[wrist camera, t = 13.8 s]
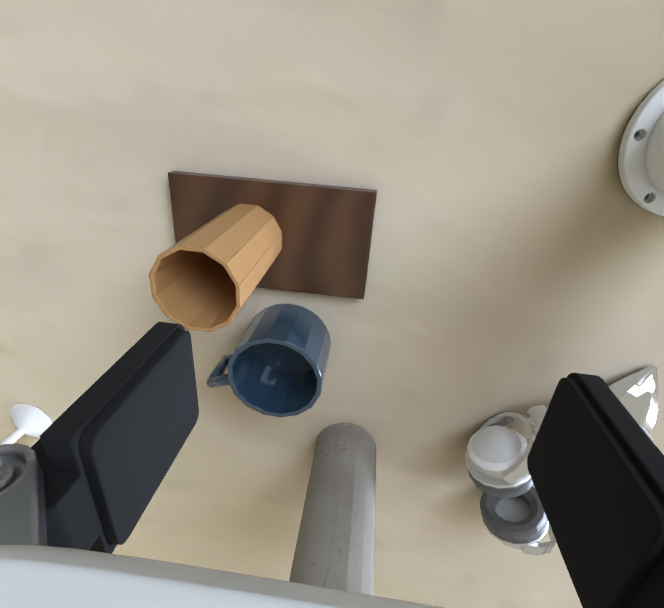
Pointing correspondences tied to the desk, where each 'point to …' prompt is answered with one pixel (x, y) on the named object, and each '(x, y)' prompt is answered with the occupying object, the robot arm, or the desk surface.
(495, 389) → the desk surface
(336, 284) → the serving board
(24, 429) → the champagne flute
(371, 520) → the thermos bottle
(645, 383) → the headphones
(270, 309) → the mug
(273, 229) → the paper cup
